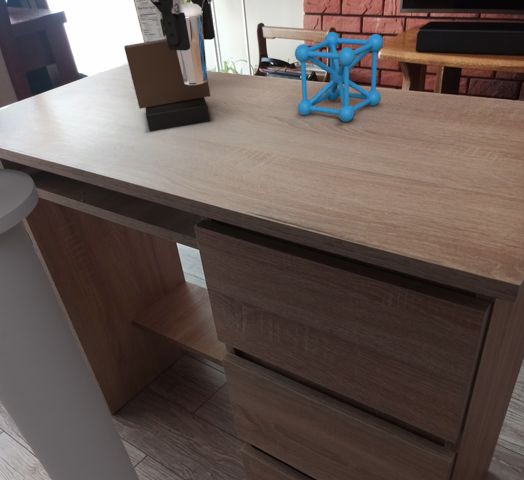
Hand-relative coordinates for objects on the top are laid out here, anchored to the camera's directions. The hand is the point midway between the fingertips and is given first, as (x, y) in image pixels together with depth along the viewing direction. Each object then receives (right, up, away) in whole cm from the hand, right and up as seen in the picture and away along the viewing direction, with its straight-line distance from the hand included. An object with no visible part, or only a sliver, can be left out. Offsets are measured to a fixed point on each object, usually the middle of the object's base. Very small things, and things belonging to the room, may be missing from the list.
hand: (192, 42), depth 68 cm
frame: (-6, +2, +20) cm, 20 cm away
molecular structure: (+21, -2, +15) cm, 26 cm away
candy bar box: (-8, +12, +36) cm, 39 cm away
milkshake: (+1, -4, +3) cm, 5 cm away
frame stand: (-5, 0, +21) cm, 22 cm away
